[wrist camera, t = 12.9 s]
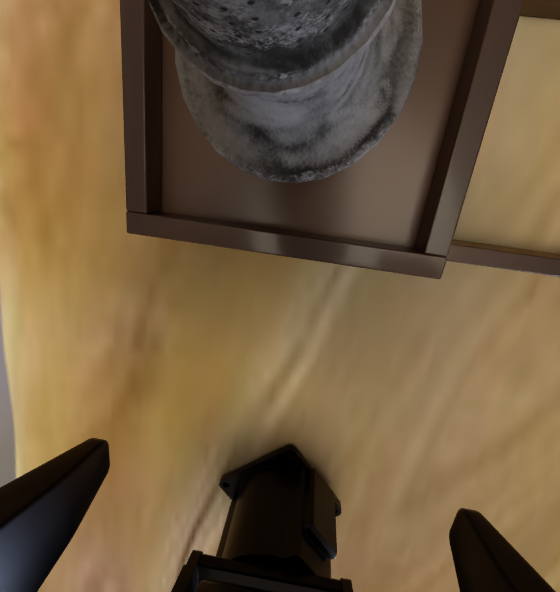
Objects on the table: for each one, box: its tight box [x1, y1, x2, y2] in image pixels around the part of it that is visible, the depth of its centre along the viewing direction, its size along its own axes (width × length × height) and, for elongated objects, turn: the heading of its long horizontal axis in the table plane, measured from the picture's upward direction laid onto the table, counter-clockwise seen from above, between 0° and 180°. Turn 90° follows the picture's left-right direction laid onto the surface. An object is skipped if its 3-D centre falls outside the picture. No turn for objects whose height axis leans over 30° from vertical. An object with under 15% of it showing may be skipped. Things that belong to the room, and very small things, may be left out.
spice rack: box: [120, 0, 560, 279], centre depth 12 cm, size 23×11×6 cm, turn 84°
